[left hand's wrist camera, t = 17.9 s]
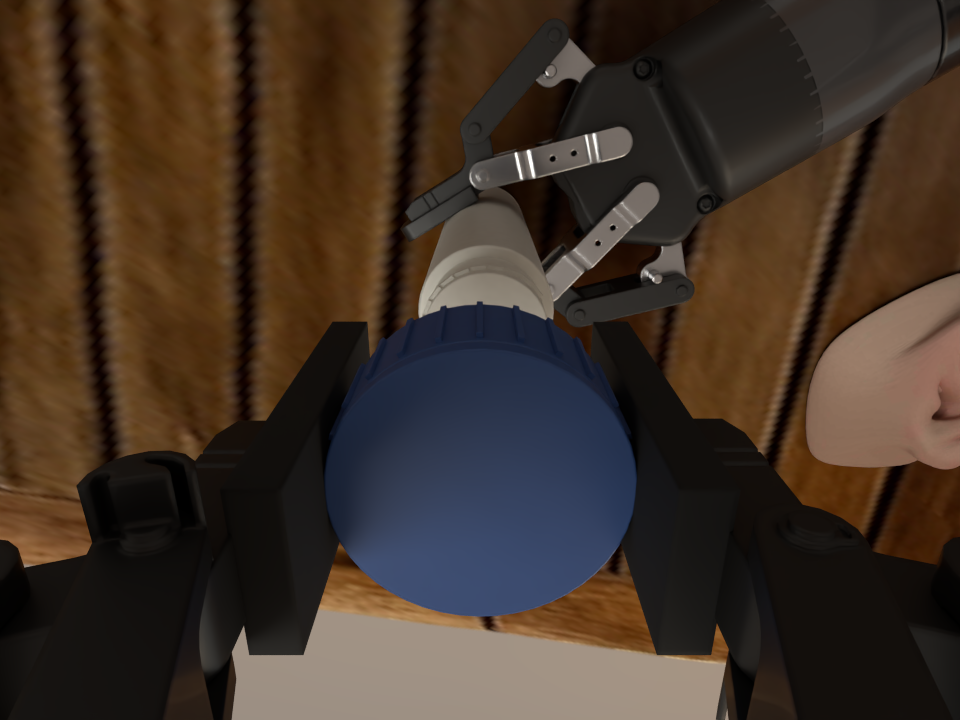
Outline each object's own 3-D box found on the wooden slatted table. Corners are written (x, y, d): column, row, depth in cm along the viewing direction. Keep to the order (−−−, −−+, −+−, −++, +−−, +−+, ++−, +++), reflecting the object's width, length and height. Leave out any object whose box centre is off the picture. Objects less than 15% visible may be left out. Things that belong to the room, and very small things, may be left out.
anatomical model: (851, 527, 38) (811, 361, 34) (818, 490, 42) (779, 336, 38) (1087, 452, 36) (1072, 268, 32) (1031, 420, 40) (1012, 252, 36)
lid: (292, 380, 12) (251, 440, 10) (538, 246, 11) (552, 281, 9) (433, 573, 14) (424, 660, 11) (657, 472, 13) (692, 546, 10)
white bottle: (518, 179, 35) (553, 249, 17) (527, 256, 36) (567, 391, 19) (441, 190, 35) (398, 271, 18) (453, 266, 37) (425, 409, 19)
